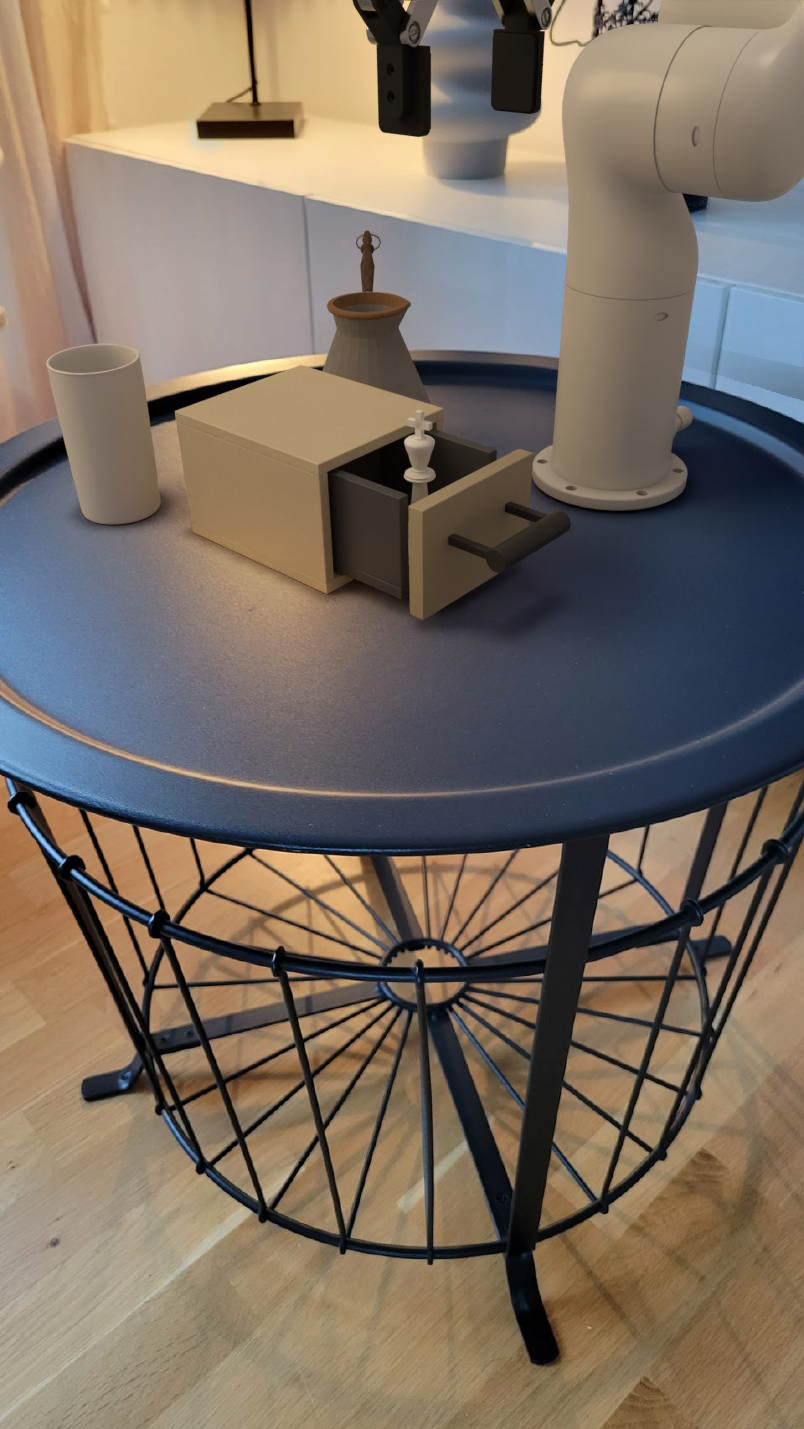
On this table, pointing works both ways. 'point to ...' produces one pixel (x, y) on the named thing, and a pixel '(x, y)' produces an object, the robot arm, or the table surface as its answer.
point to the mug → (106, 431)
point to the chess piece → (419, 457)
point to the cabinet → (284, 463)
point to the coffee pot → (372, 336)
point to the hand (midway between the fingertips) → (462, 122)
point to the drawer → (435, 520)
